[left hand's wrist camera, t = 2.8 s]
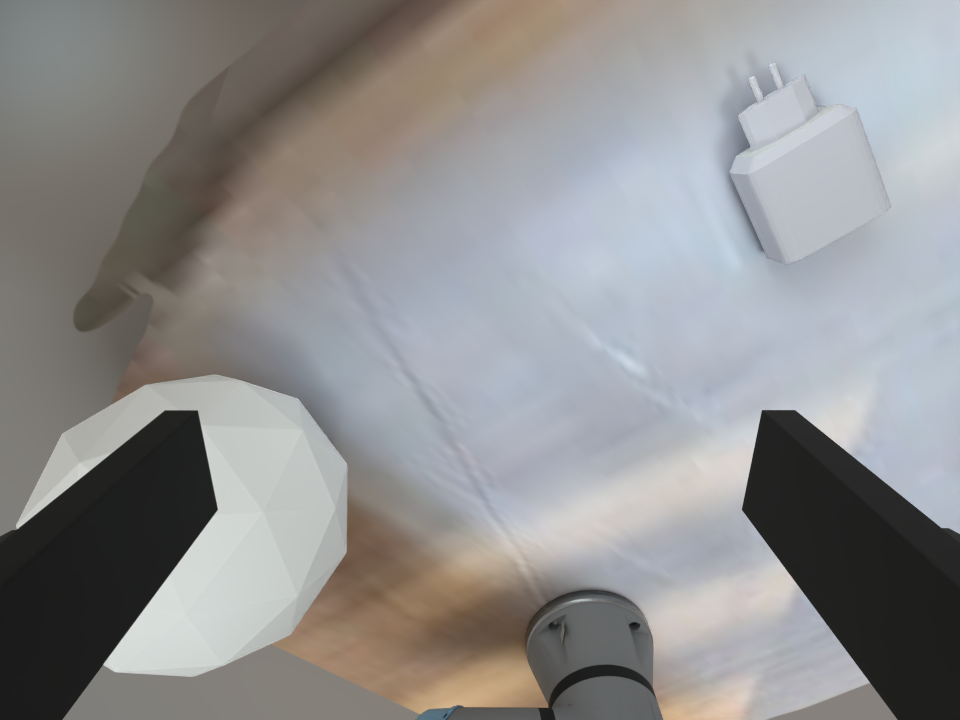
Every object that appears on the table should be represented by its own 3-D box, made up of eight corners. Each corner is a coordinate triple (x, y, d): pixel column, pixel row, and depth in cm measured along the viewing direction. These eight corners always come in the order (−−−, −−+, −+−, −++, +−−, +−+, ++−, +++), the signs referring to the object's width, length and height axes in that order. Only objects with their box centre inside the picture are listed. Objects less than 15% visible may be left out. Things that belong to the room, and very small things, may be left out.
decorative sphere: (-25, 453, 48) (-82, 783, 33) (148, 266, 42) (171, 567, 27) (218, 494, 66) (250, 717, 52) (362, 368, 60) (443, 579, 46)
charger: (799, 41, 44) (859, 201, 49) (696, 107, 46) (762, 256, 51) (835, 28, 40) (897, 206, 44) (719, 102, 42) (790, 266, 46)
